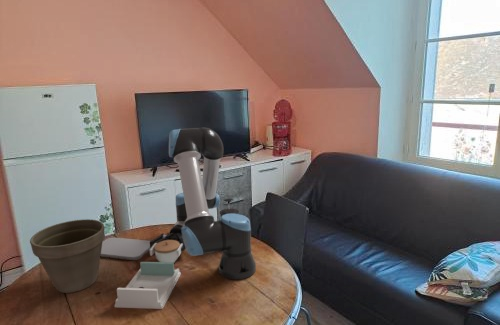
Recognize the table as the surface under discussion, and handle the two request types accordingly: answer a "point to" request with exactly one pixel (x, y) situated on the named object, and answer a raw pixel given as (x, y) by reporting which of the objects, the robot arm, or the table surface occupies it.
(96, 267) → the plant pot
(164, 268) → the pusher plate
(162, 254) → the lidded jar
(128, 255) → the tablet
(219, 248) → the robot arm
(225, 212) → the french press
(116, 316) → the table surface
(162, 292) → the pusher lane
